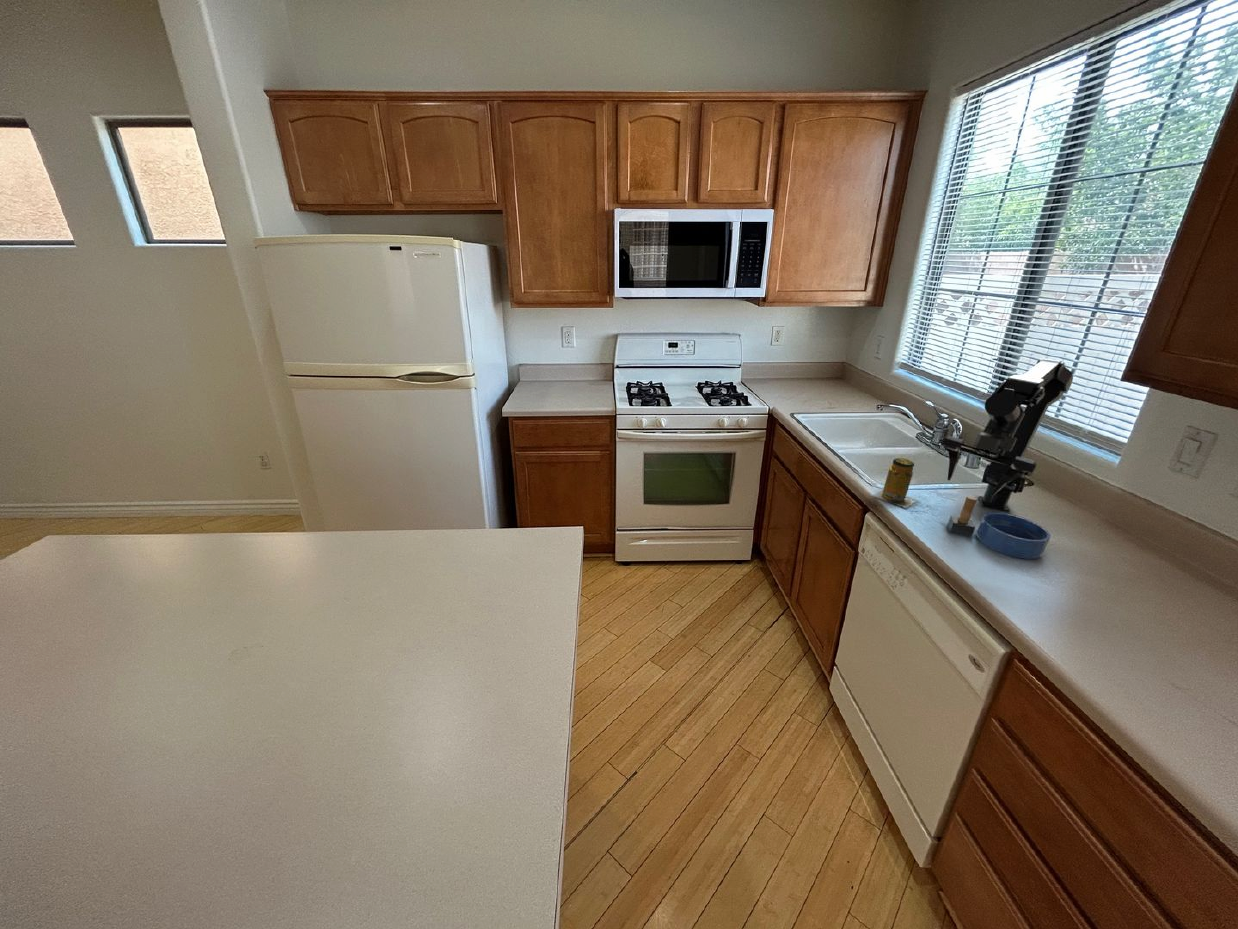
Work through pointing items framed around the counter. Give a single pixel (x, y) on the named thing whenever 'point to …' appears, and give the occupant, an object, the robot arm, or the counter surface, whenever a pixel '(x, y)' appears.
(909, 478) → the condiment
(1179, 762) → the counter surface
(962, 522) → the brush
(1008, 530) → the bowl
